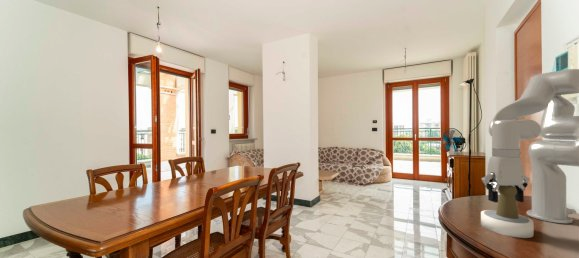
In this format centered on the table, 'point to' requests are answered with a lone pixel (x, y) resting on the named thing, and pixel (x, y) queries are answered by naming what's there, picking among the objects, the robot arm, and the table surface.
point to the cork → (507, 202)
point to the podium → (507, 224)
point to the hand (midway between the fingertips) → (505, 201)
